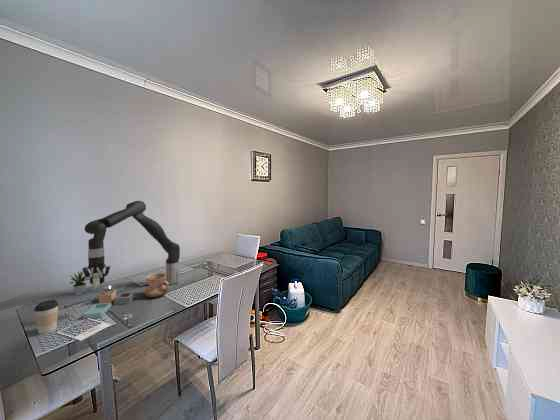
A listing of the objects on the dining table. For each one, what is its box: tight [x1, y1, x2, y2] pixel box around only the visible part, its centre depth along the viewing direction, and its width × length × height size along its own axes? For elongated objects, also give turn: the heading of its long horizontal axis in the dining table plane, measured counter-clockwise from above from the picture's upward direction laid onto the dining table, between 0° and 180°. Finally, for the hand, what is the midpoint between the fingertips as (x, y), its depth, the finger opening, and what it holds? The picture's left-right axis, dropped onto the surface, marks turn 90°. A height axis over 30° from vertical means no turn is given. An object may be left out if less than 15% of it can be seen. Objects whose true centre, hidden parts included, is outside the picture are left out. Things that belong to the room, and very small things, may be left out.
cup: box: [98, 289, 117, 304], centre depth 152 cm, size 7×7×6 cm
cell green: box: [92, 272, 103, 291], centre depth 137 cm, size 4×4×11 cm
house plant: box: [66, 270, 90, 295], centre depth 162 cm, size 14×14×16 cm
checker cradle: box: [113, 291, 136, 306], centre depth 154 cm, size 9×13×5 cm
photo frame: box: [56, 318, 111, 342], centre depth 121 cm, size 15×1×18 cm
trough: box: [82, 302, 112, 320], centre depth 138 cm, size 9×13×3 cm
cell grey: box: [103, 283, 113, 295], centre depth 152 cm, size 4×4×11 cm
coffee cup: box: [33, 299, 60, 335], centre depth 119 cm, size 9×9×15 cm
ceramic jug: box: [144, 272, 170, 298], centre depth 163 cm, size 18×14×14 cm
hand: (97, 283), depth 137 cm, fingers closed on cell green, 4 cm apart
